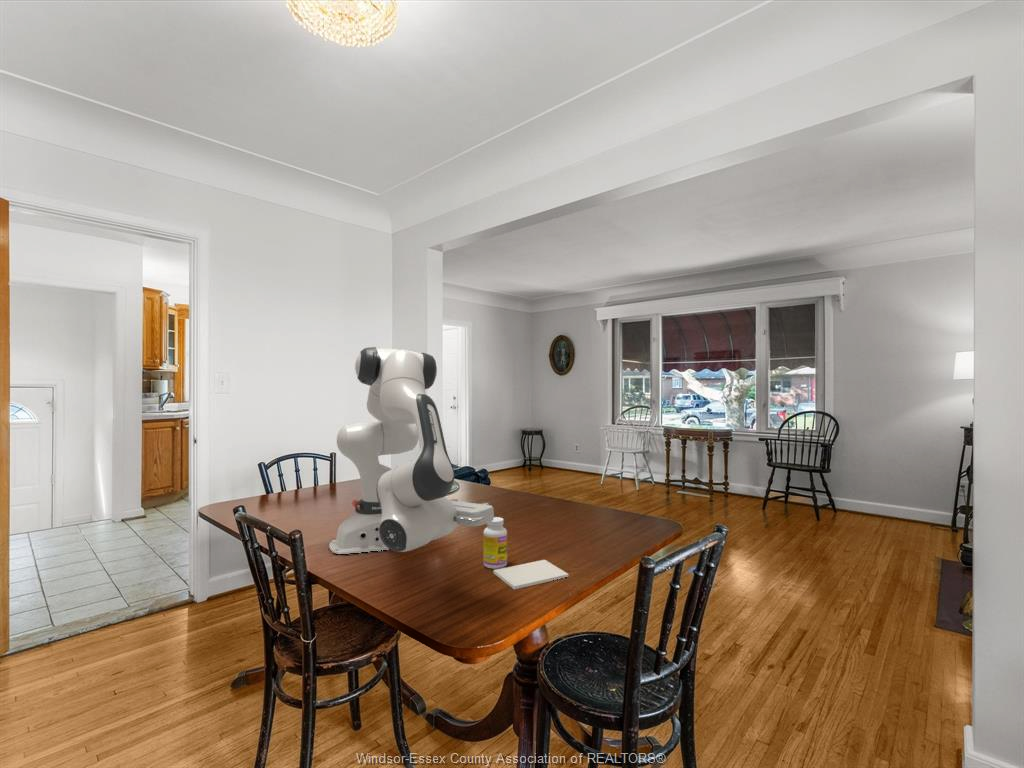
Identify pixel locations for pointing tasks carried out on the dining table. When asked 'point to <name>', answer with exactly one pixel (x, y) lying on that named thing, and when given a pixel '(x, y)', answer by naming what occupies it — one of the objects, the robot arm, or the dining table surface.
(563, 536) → the dining table surface
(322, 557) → the dining table surface
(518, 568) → the off-white mat
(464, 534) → the dining table surface
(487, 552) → the supplement bottle
